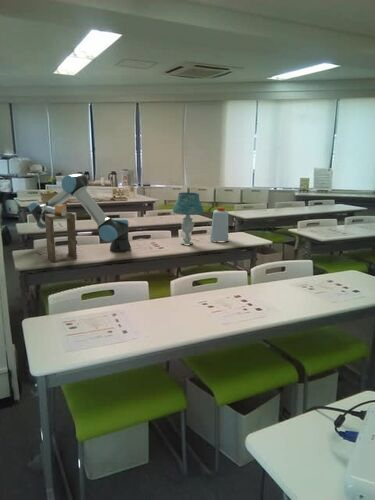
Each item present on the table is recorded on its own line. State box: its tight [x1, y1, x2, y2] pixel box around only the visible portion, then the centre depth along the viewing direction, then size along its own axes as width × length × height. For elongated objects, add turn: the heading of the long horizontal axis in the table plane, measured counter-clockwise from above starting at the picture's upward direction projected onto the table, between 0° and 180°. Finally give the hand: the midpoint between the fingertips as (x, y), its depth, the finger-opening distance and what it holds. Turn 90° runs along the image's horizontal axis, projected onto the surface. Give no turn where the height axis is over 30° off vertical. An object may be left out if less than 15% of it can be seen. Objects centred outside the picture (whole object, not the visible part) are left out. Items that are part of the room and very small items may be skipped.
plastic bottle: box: [209, 206, 229, 242], centre depth 304 cm, size 15×15×28 cm
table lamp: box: [172, 192, 204, 245], centre depth 288 cm, size 24×24×40 cm
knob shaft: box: [44, 204, 67, 216], centre depth 240 cm, size 7×22×6 cm, turn 48°
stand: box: [45, 211, 78, 263], centre depth 241 cm, size 16×10×30 cm, turn 127°
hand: (54, 207), depth 244 cm, fingers open, 13 cm apart
